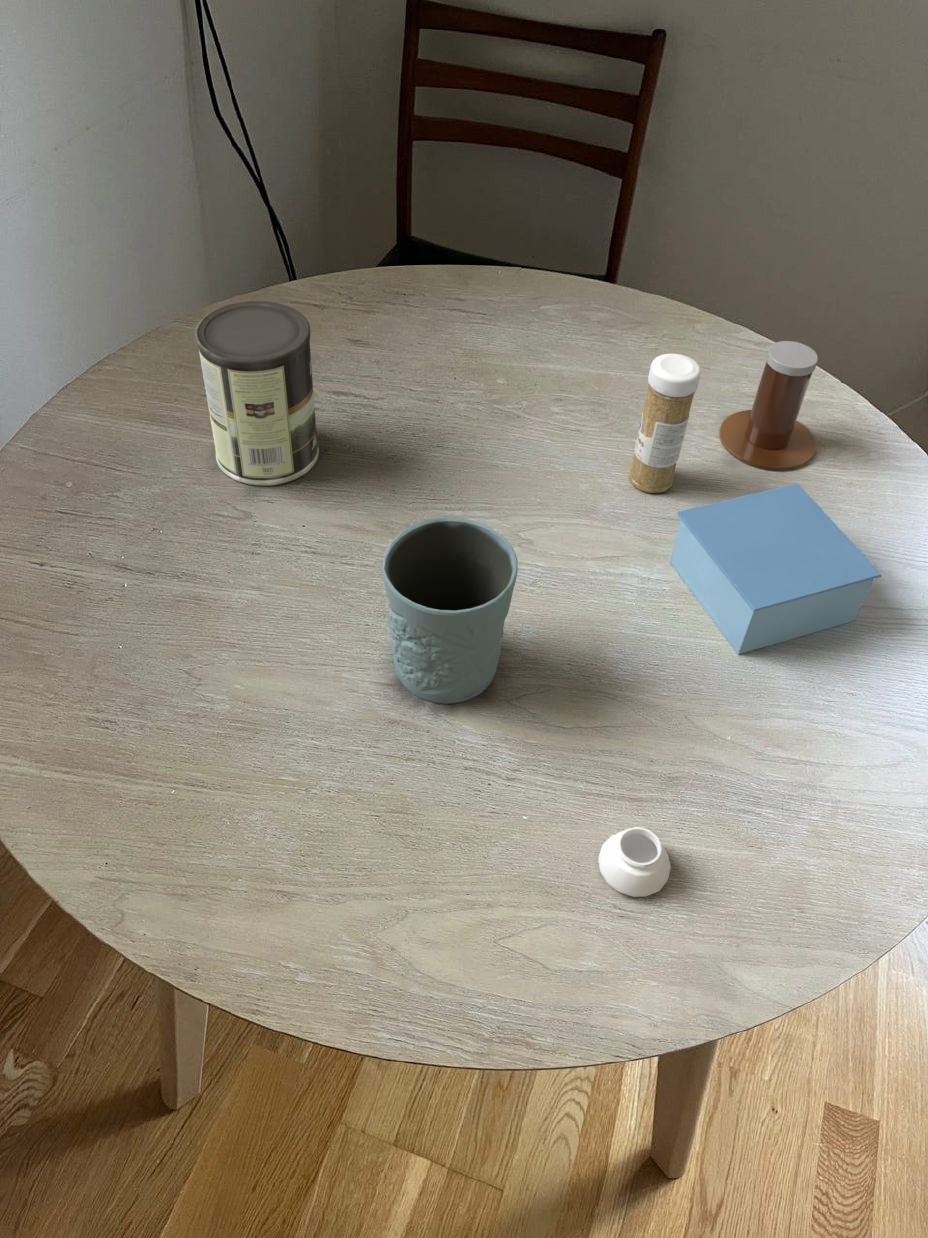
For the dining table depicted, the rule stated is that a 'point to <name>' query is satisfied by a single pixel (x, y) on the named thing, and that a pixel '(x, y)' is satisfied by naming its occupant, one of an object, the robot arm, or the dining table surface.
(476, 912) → the dining table surface
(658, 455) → the sprinkles bottle
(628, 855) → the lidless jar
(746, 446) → the brown coaster
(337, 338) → the dining table surface
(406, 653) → the embossed green cup
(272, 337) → the coffee can
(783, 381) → the cylinder
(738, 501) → the storage box
